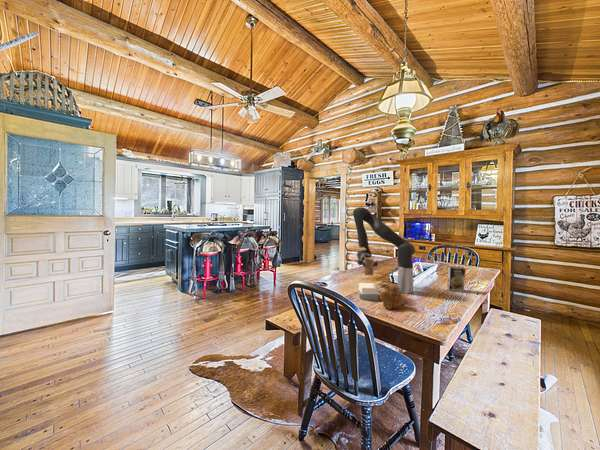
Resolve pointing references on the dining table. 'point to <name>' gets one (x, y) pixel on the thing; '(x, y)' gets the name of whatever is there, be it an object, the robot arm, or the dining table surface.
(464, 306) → the dining table surface
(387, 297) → the brown fuzzy figure
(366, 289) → the tower top
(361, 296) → the tower bottom
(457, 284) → the coffee box
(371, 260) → the walnut block
